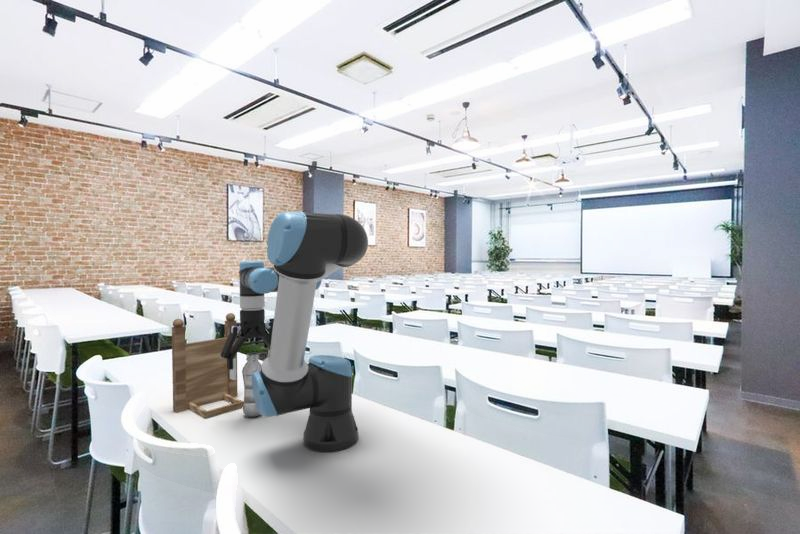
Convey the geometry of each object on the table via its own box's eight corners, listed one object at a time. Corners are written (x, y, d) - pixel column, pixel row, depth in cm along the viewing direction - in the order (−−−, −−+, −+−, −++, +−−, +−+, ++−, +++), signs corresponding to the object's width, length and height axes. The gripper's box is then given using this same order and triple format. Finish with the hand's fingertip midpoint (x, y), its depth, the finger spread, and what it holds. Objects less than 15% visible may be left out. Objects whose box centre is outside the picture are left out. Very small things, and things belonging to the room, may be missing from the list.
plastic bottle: (257, 420, 130) (257, 356, 129) (238, 418, 131) (237, 355, 131) (268, 412, 136) (267, 352, 135) (249, 410, 137) (248, 351, 137)
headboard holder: (255, 404, 144) (254, 316, 143) (191, 422, 128) (190, 323, 127) (233, 394, 154) (232, 312, 153) (172, 410, 138) (171, 318, 137)
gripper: (279, 304, 144) (280, 364, 145) (208, 311, 126) (209, 381, 126) (292, 306, 139) (292, 368, 140) (219, 314, 121) (220, 386, 121)
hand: (253, 374), depth 133 cm, fingers open, 13 cm apart
